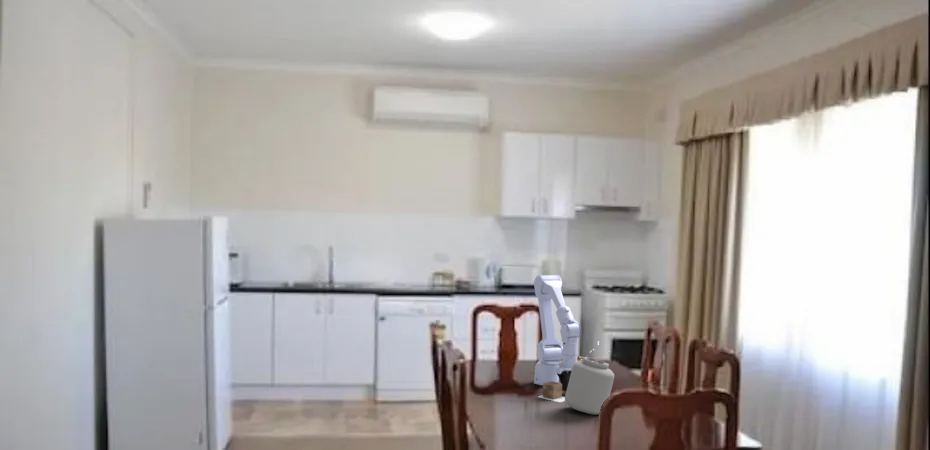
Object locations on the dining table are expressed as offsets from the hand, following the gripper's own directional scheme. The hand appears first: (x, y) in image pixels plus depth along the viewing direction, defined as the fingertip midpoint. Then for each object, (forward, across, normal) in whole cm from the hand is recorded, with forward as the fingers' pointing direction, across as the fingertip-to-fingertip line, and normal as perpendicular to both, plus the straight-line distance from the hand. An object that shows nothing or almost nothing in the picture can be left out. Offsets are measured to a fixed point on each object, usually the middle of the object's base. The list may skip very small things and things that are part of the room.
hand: (568, 389), depth 286 cm
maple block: (+1, 0, 0) cm, 1 cm away
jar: (+2, -14, -21) cm, 25 cm away
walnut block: (+1, -10, 0) cm, 10 cm away
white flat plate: (+2, -10, -1) cm, 10 cm away
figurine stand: (+2, +28, +22) cm, 36 cm away
